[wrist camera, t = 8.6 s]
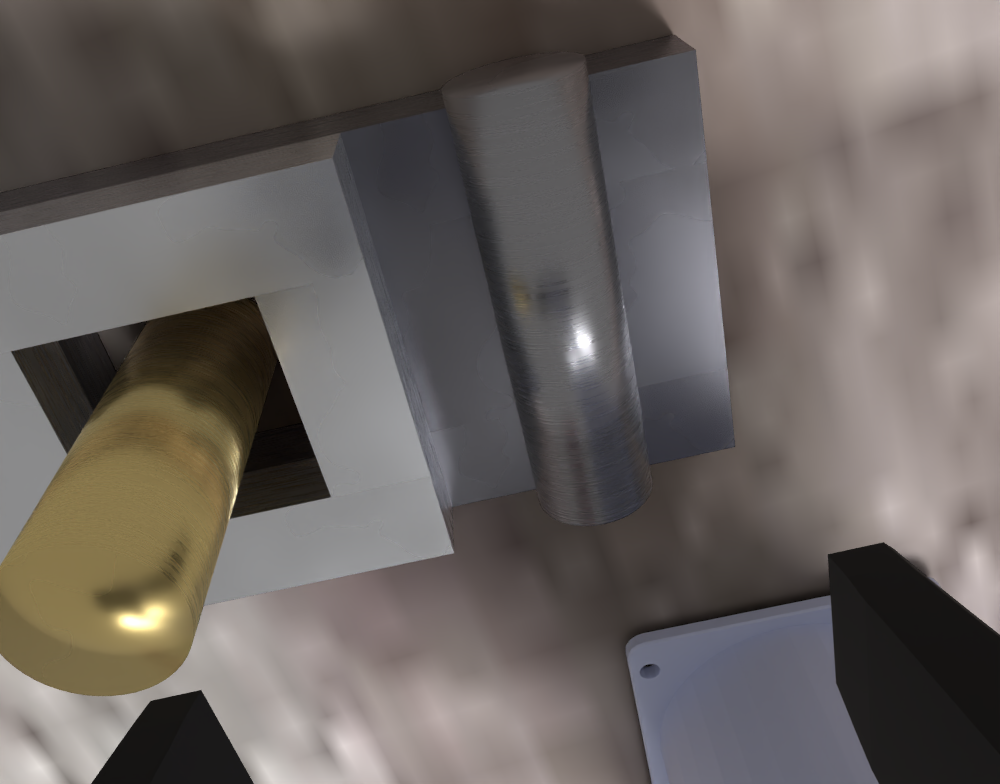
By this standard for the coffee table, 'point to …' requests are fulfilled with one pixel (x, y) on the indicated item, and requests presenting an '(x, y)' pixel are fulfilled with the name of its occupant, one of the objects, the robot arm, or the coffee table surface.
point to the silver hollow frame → (293, 331)
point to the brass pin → (139, 509)
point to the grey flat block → (525, 271)
